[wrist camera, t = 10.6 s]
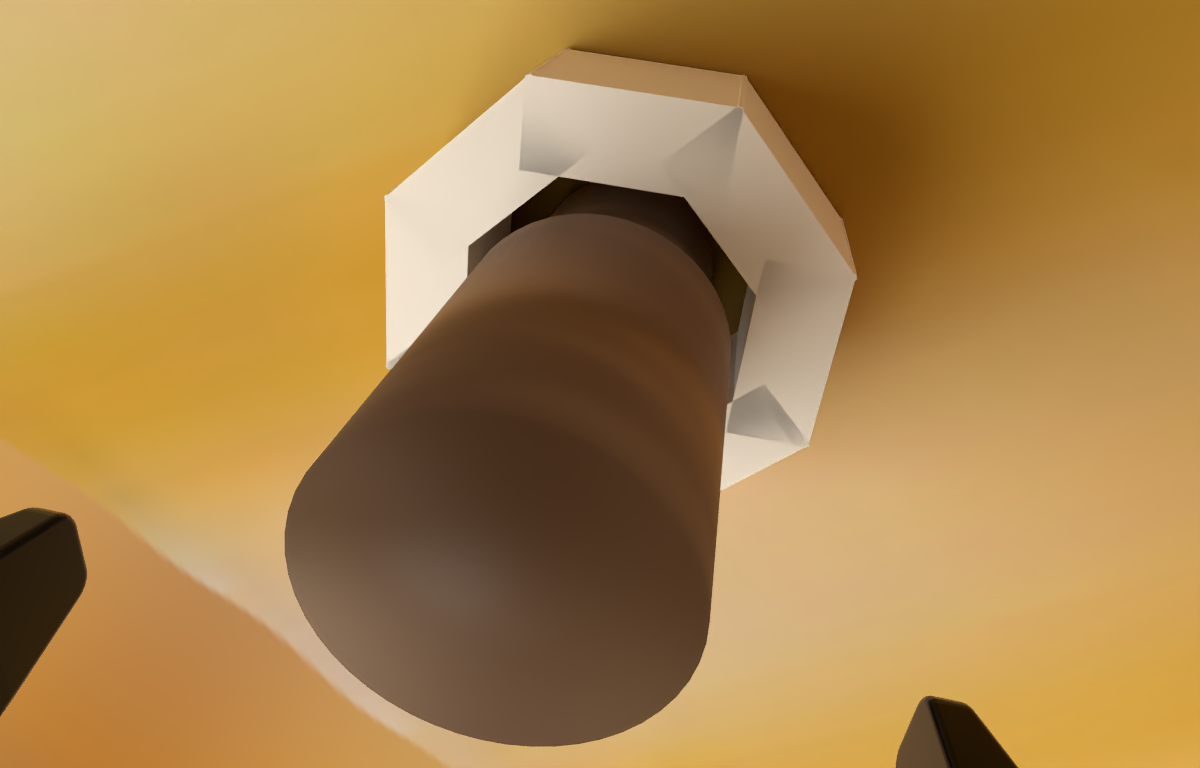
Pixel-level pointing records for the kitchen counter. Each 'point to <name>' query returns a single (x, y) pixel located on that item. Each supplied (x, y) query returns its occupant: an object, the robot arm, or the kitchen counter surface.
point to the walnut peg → (534, 485)
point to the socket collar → (657, 164)
